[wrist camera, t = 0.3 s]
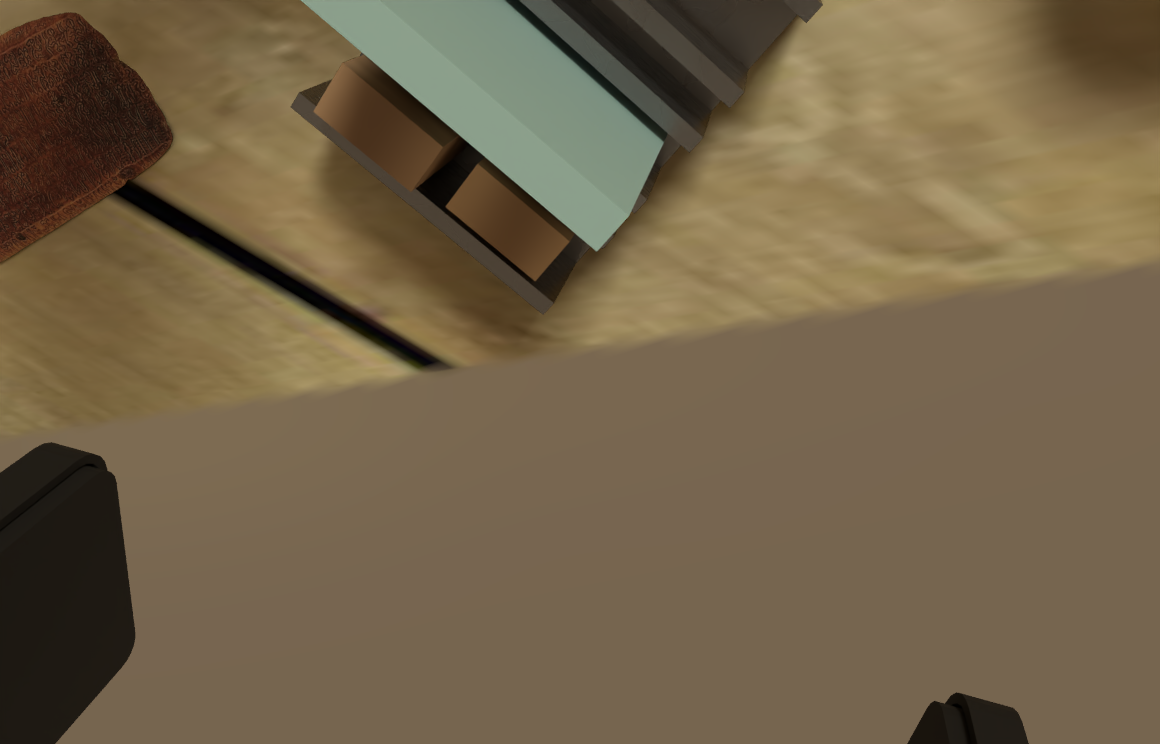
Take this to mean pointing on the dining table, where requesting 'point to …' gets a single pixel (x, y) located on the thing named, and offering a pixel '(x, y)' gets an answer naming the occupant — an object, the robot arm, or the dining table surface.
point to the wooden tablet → (67, 126)
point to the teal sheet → (514, 100)
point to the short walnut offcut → (510, 219)
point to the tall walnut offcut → (387, 123)
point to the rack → (639, 70)
